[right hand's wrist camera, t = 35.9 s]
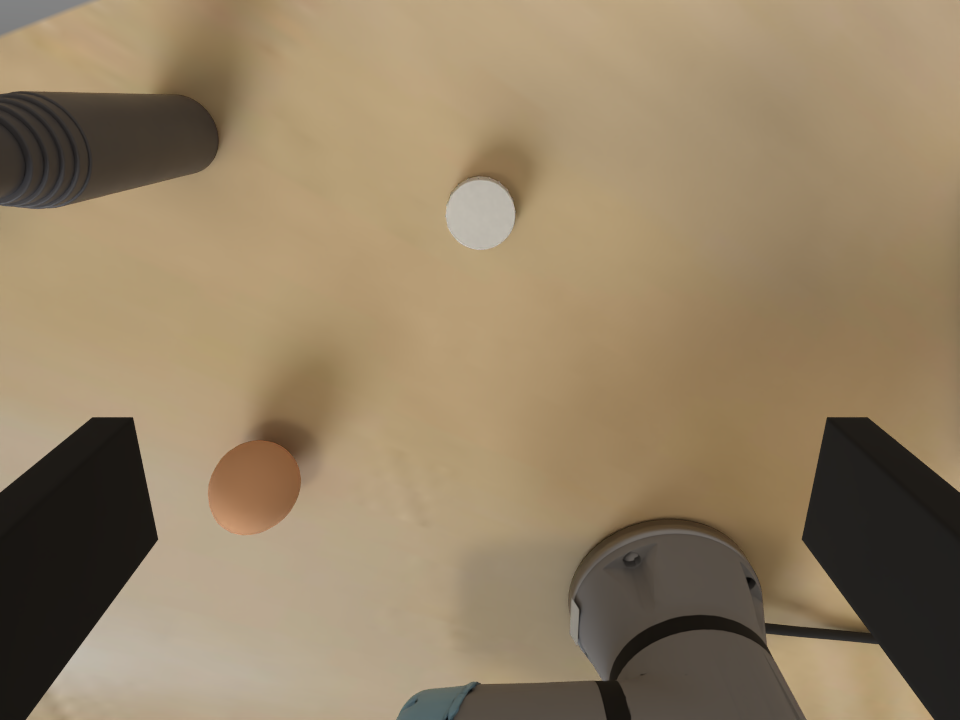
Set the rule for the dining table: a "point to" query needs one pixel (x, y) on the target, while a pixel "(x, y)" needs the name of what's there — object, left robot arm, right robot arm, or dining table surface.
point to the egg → (253, 487)
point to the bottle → (97, 144)
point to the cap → (480, 213)
